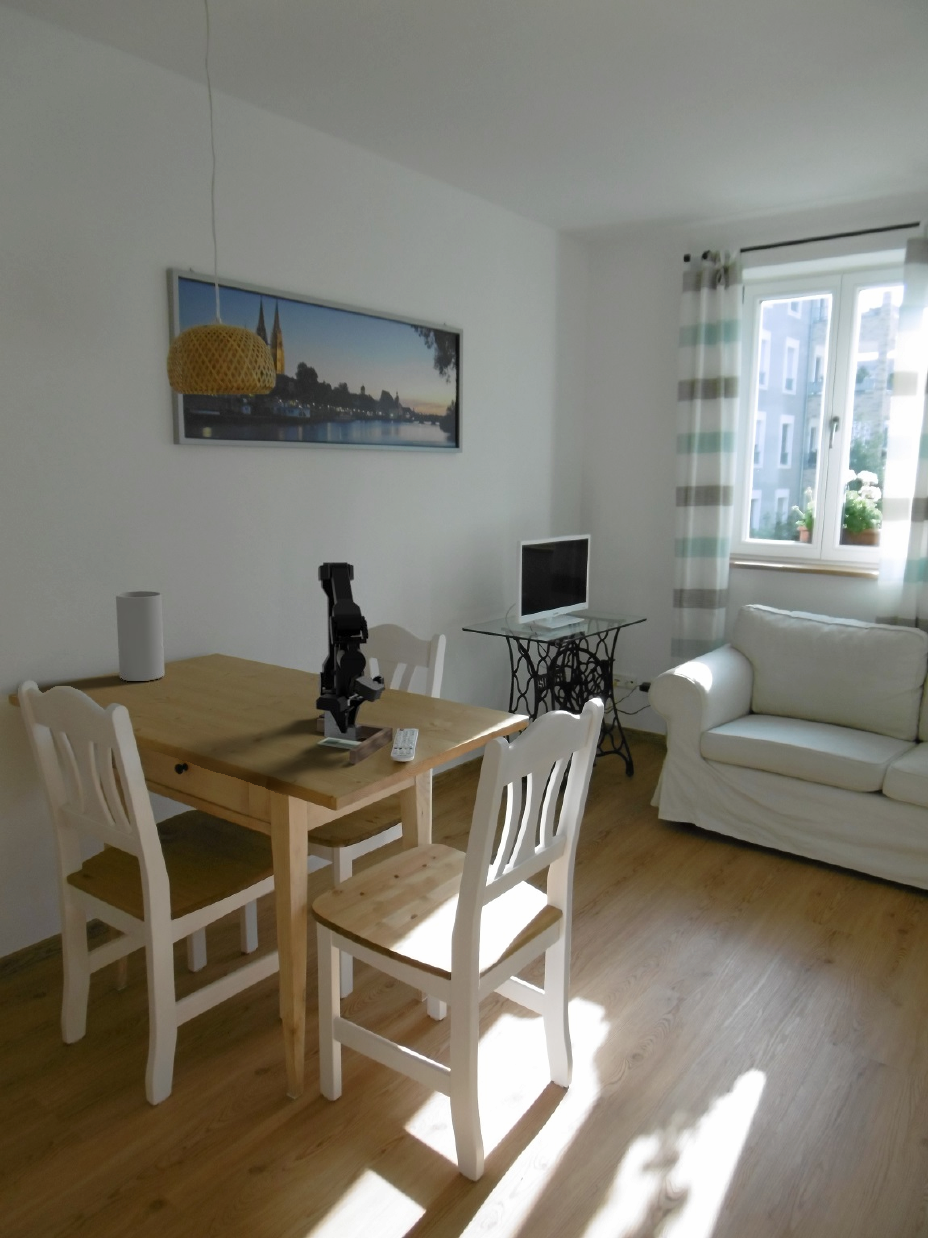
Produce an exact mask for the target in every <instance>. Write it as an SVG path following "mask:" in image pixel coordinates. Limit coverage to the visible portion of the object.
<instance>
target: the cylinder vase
mask: <svg viewBox="0 0 928 1238" xmlns="http://www.w3.org/2000/svg"><path fill="white" fill-rule="evenodd" d="M115 603H116V605H115V607H116V627H117V628H116V629H117V647H118V649H117V651H118V671H119V673H118V674H119V678H120V679H121V678H122V679H125V680H130V681H144V680H150V679H156V678H160V677H162V676H163V677H164V676H165V655H164V654H165V653H164V652H165V650H164V649H165V648H164V626H163V625H164V624H163V621H164V619H163V599H162V592H158V591H151V590H150V591H148V590H144V591H143V590H140V591H139V590H137V591H134V590H133V591H125V592H119V593H116V594H115ZM163 677H162V678H163ZM122 679H121V680H122Z"/></svg>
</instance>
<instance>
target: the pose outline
mask: <svg viewBox="0 0 928 1238" xmlns="http://www.w3.org/2000/svg"><path fill="white" fill-rule="evenodd" d="M362 742H363V741H358V740H357V741H350V740H344V739H337V738H330V737H325V738H324V739H322V740H320V741H318V742H317V743H316V745H320V746H328V747H335V748H340V749H347V750H350V749H352V748H354V747H355V746H357V745H359V744H360V743H362Z"/></svg>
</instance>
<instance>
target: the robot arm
mask: <svg viewBox="0 0 928 1238" xmlns="http://www.w3.org/2000/svg"><path fill="white" fill-rule="evenodd" d="M354 572H355V569H354V564H350V563H348V562H347V561H346V562H343V561H341V562H340V561H337V562H332V561H331V562H330V561H329V562H328V561H325V562H322V565H319V566H318V568H317V578H318V581H319V582H320V589H322V591H323V592H324V594H325V596H326V597H327V598H326V600H327V606H326V607H327V611H326V612H327V656H326V657H325V659H324V660H323V662H322V664H321V671H320V672H319V677H318V683H317V684H318V693H319V696H318V697H317V699H316V700H315V709H316V710H319V711H323V713H321V714H320V715H319V716H318V719H319V718H325V711H330V713H331V714H332V716H333V718H334V720H335V721H336V723H337V725H338V727H339V729H340V731H341V733H343V734H345V733H346V731H347V724H348V723H350V724H355V723H356V721H357V716H358V715H359V711H360V709H361V706H362V705H364V704H365V703H366V702H369V703H373V702H375V701H377V700H379V699H380V698H381V696H382V693H383V692H384V691H385V690H386V684H385V677H384V676H382V675H379V674H377V675H375V676H374V677H373V678H372V677H367V676H365V669H366V666H367V660H366V656H365V655H364V653H363V652H362V650H361V644H368V640H369V630H368V622H367V619H366V617H365V616H364V615H363V614H362V611H361V606H360V605H358V603H356V602H355V601H354V597H353V591H352V590H353V589H352V585H351V582H352V581H354V580H355V575H354V574H355V573H354Z"/></svg>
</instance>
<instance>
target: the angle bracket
mask: <svg viewBox="0 0 928 1238" xmlns="http://www.w3.org/2000/svg"><path fill="white" fill-rule="evenodd" d="M361 731H362V725H357V724H350V723H348V724H347V731H346V733H345V734H343V733H341V731H340V729H339V727H338V725H337V723H336V721H335V720H334V718H333V716H332V714H331V713H330V711H325V732H324V737H325V738H327V737H330V738H336V739H343V740H350V741H357V742H358V741H359V740H360V739H362V738H361Z"/></svg>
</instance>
